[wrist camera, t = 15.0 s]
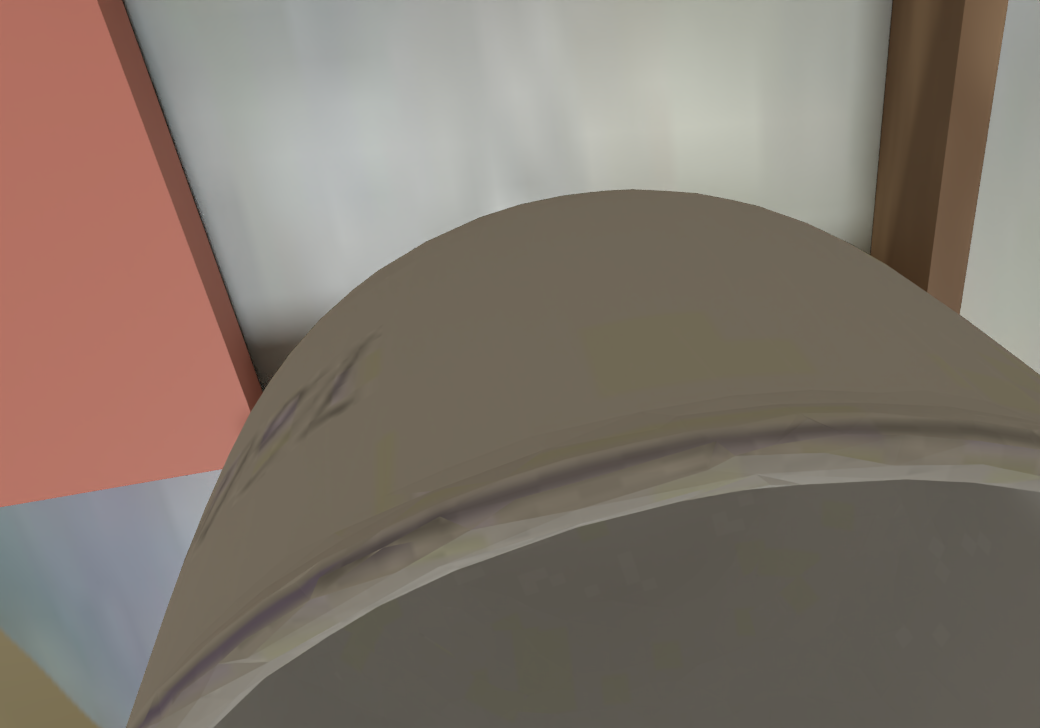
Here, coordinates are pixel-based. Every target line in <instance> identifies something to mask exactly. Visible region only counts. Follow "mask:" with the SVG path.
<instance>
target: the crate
mask: <svg viewBox="0 0 1040 728" xmlns="http://www.w3.org/2000/svg"><path fill="white" fill-rule="evenodd" d="M1007 6H1008V0H893V7H892V18H891V29H890V40H889V52H888V63H887V74H886V86H885V97H884V108H883V120H882V131H881V142H880V153H879V165H878V176H877V187H876V199H875V210H874V221H873V232H872V244H871V256H872V257H874V258H876V259H878V260H879V261H881V262H883V263H885V264H886V265H888V266H889V267H891V268H892V269H894V270H895V271H896V272H898V273H899V274H901V275H902V276H904V277H905V278H907V279H908V280H910V281H911V282H913V283H914V284H915V285H917V286H918V287H920V288H921V289H923V290H924V291H926V292H927V293H929V294H930V295H931V296H933V297H934V298H936V299H937V300H939V301H940V302H942V303H943V304H945V305H946V306H947V307H949V308H950V309H952V310H953V311H955V312H956V313H958V314H959V315H960V308H961V302H962V295H963V289H964V283H965V276H966V270H967V263H968V257H969V250H970V244H971V238H972V231H973V225H974V218H975V212H976V205H977V199H978V192H979V186H980V180H981V173H982V167H983V160H984V154H985V147H986V141H987V135H988V128H989V122H990V115H991V109H992V102H993V96H994V89H995V83H996V77H997V70H998V64H999V57H1000V51H1001V44H1002V38H1003V32H1004V25H1005V19H1006V12H1007Z"/></svg>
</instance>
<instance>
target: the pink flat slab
mask: <svg viewBox="0 0 1040 728" xmlns="http://www.w3.org/2000/svg"><path fill="white" fill-rule="evenodd" d="M262 393H263V392H262V389H261V386H260V384H259V381H258V378H257V375H256V373H255V370H254V367H253V364H252V361H251V359H250V356H249V353H248V350H247V347H246V345H245V342H244V339H243V336H242V333H241V331H240V328H239V325H238V322H237V320H236V317H235V314H234V311H233V308H232V306H231V303H230V300H229V297H228V294H227V292H226V289H225V286H224V283H223V281H222V278H221V275H220V272H219V269H218V267H217V264H216V261H215V258H214V255H213V253H212V250H211V247H210V244H209V241H208V239H207V236H206V233H205V230H204V228H203V225H202V222H201V219H200V216H199V214H198V211H197V208H196V205H195V202H194V200H193V197H192V194H191V191H190V188H189V186H188V183H187V180H186V177H185V175H184V172H183V169H182V166H181V163H180V161H179V158H178V155H177V152H176V149H175V147H174V144H173V141H172V138H171V135H170V133H169V130H168V127H167V124H166V122H165V119H164V116H163V113H162V110H161V108H160V105H159V102H158V99H157V96H156V94H155V91H154V88H153V85H152V83H151V80H150V77H149V74H148V71H147V69H146V66H145V63H144V60H143V57H142V55H141V52H140V49H139V46H138V43H137V41H136V38H135V35H134V32H133V30H132V27H131V24H130V21H129V18H128V16H127V13H126V10H125V7H124V4H123V2H122V0H0V507H4V506H10V505H15V504H21V503H27V502H33V501H39V500H45V499H50V498H56V497H62V496H68V495H74V494H79V493H85V492H91V491H97V490H103V489H109V488H114V487H120V486H126V485H132V484H138V483H144V482H149V481H155V480H161V479H167V478H173V477H178V476H184V475H190V474H196V473H202V472H208V471H213V470H219V469H223V467H224V465H225V462H226V460H227V458H228V456H229V453H230V451H231V450H232V448H233V446H234V444H235V442H236V440H237V438H238V436H239V434H240V432H241V430H242V428H243V426H244V424H245V422H246V420H247V418H248V416H249V414H250V412H251V411H252V409H253V407H254V406H255V404H256V403H257V401H258V399H259V398H260V396H261V395H262Z"/></svg>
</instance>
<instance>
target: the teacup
mask: <svg viewBox="0 0 1040 728" xmlns="http://www.w3.org/2000/svg"><path fill="white" fill-rule="evenodd" d="M126 728H1040V375H1039V374H1038V373H1037V372H1035V371H1034V370H1033V369H1031V368H1030V367H1029V366H1027V365H1026V364H1025V363H1024V362H1022V361H1021V360H1020V359H1018V358H1017V357H1016V356H1014V355H1013V354H1012V353H1010V352H1009V351H1008V350H1006V349H1005V348H1004V347H1002V346H1001V345H1000V344H998V343H997V342H996V341H994V340H993V339H992V338H990V337H989V336H988V335H986V334H985V333H984V332H982V331H981V330H980V329H978V328H977V327H976V326H974V325H973V324H972V323H970V322H969V321H968V320H966V319H965V318H963V317H962V316H960V315H959V314H958V313H956V312H955V311H953V310H952V309H950V308H949V307H947V306H946V305H945V304H943V303H942V302H940V301H939V300H937V299H936V298H934V297H933V296H931V295H930V294H929V293H927V292H926V291H924V290H923V289H921V288H920V287H918V286H917V285H915V284H914V283H913V282H911V281H910V280H908V279H907V278H905V277H904V276H902V275H901V274H899V273H898V272H896V271H895V270H894V269H892V268H891V267H889V266H888V265H886V264H885V263H883V262H881V261H879V260H878V259H876V258H874V257H872V256H871V255H869V254H867V253H865V252H864V251H862V250H860V249H858V248H857V247H855V246H853V245H851V244H849V243H847V242H845V241H843V240H841V239H839V238H837V237H835V236H833V235H831V234H828V233H826V232H824V231H822V230H820V229H818V228H816V227H814V226H812V225H810V224H807V223H805V222H802V221H799V220H796V219H794V218H791V217H788V216H785V215H782V214H779V213H776V212H774V211H771V210H768V209H765V208H762V207H759V206H756V205H751V204H747V203H743V202H738V201H734V200H729V199H724V198H718V197H713V196H708V195H703V194H698V193H686V192H672V191H655V190H635V189H631V190H611V191H599V192H589V193H580V194H572V195H564V196H559V197H554V198H549V199H544V200H539V201H535V202H530V203H525V204H520V205H517V206H514V207H511V208H508V209H505V210H501V211H498V212H495V213H492V214H489V215H486V216H482V217H480V218H477V219H475V220H473V221H471V222H468V223H466V224H464V225H462V226H460V227H457V228H455V229H453V230H451V231H449V232H446V233H444V234H442V235H440V236H438V237H435V238H433V239H431V240H429V241H426V242H425V243H423V244H422V245H420V246H418V247H417V248H415V249H413V250H412V251H410V252H408V253H407V254H405V255H403V256H402V257H400V258H398V259H397V260H395V261H393V262H392V263H390V264H388V265H387V266H385V267H383V268H382V269H380V270H378V271H377V272H376V273H374V274H373V275H372V276H370V277H369V278H368V279H366V280H365V281H364V282H363V283H361V284H360V285H359V286H357V287H356V288H355V289H353V290H352V291H351V292H350V293H349V294H348V295H347V296H346V297H344V298H343V299H342V300H341V301H340V302H339V303H338V304H337V305H336V306H335V307H333V308H332V309H331V310H330V311H329V312H328V313H327V314H326V315H325V316H324V317H322V318H321V319H320V320H319V321H318V322H317V324H316V325H315V326H314V327H313V328H312V329H311V330H310V331H309V333H308V334H307V335H306V336H305V337H304V338H303V339H302V340H301V341H300V343H299V344H298V345H297V346H296V347H295V348H294V349H293V350H292V352H291V353H290V354H289V356H288V357H287V358H286V360H285V361H284V362H283V364H282V365H281V367H280V368H279V369H278V371H277V372H276V373H275V375H274V376H273V378H272V379H271V380H270V382H269V384H268V385H267V387H266V388H265V390H264V391H263V393H262V395H261V396H260V398H259V399H258V401H257V403H256V404H255V406H254V407H253V409H252V411H251V412H250V414H249V416H248V418H247V420H246V422H245V424H244V426H243V428H242V430H241V432H240V434H239V436H238V438H237V440H236V442H235V444H234V446H233V448H232V450H231V451H230V453H229V456H228V458H227V460H226V462H225V465H224V467H223V469H222V471H221V474H220V476H219V478H218V481H217V483H216V485H215V487H214V490H213V492H212V494H211V496H210V499H209V501H208V503H207V506H206V508H205V510H204V513H203V515H202V518H201V520H200V523H199V525H198V528H197V530H196V533H195V535H194V538H193V540H192V543H191V545H190V548H189V550H188V553H187V555H186V558H185V560H184V563H183V566H182V569H181V571H180V574H179V577H178V580H177V582H176V585H175V588H174V591H173V593H172V596H171V599H170V602H169V604H168V607H167V610H166V613H165V616H164V619H163V622H162V625H161V627H160V630H159V633H158V636H157V639H156V642H155V645H154V648H153V651H152V654H151V656H150V659H149V662H148V665H147V668H146V671H145V674H144V677H143V680H142V683H141V686H140V688H139V691H138V694H137V697H136V700H135V703H134V706H133V709H132V712H131V715H130V718H129V720H128V723H127V726H126Z"/></svg>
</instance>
